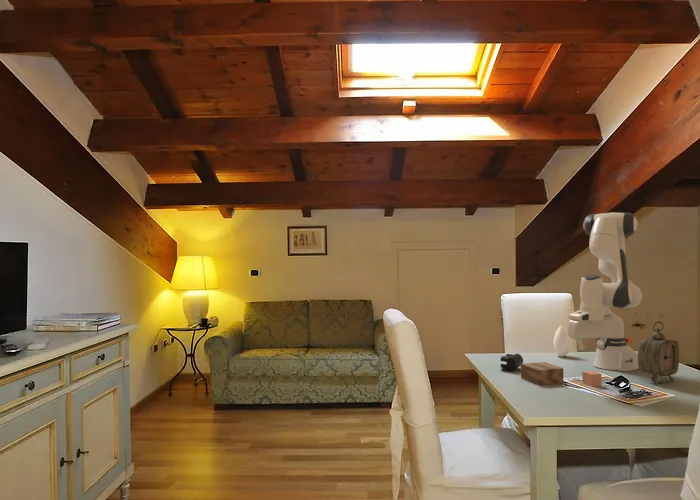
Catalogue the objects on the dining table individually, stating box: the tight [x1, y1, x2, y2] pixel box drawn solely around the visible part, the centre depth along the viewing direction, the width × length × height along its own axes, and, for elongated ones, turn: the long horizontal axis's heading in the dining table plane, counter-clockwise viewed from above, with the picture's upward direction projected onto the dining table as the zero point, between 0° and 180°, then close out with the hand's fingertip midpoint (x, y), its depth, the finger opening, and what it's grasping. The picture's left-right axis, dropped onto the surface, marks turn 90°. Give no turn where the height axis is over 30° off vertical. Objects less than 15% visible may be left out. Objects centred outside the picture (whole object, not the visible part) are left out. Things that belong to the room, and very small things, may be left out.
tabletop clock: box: [637, 321, 680, 385], centre depth 212 cm, size 14×9×25 cm, turn 117°
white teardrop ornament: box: [553, 321, 571, 358], centre depth 261 cm, size 8×8×18 cm
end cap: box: [500, 353, 524, 373], centre depth 235 cm, size 10×7×7 cm
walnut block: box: [520, 361, 564, 386], centre depth 216 cm, size 12×12×6 cm
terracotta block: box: [581, 370, 603, 387], centre depth 209 cm, size 5×5×5 cm
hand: (591, 349), depth 208 cm, fingers open, 8 cm apart
